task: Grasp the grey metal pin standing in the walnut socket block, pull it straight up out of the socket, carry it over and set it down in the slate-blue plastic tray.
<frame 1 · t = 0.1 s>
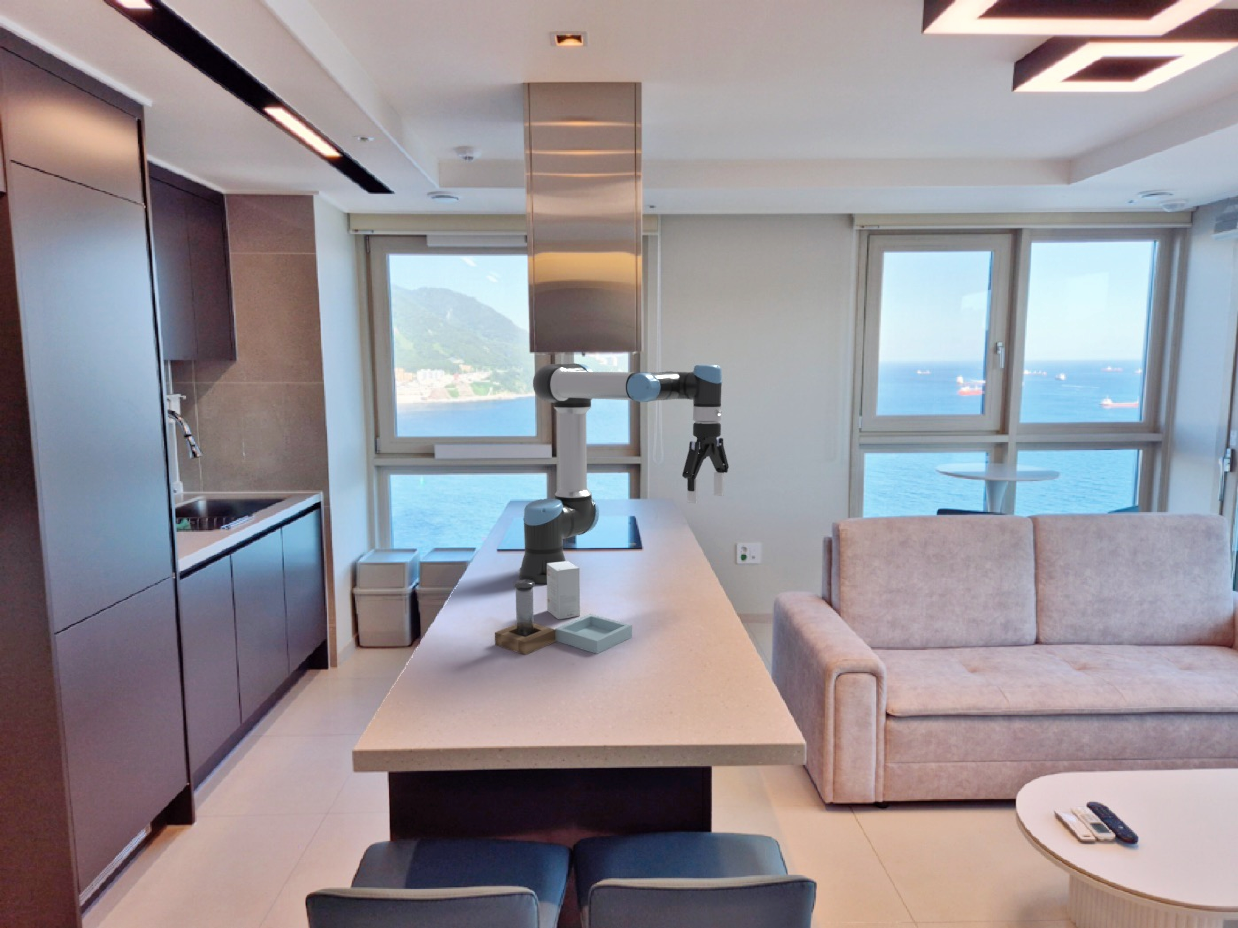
hand: (705, 499, 207), 28 cm above the table, fingers open, 13 cm apart
tray: (593, 638, 180), on the table
socket block: (525, 643, 178), on the table
pin: (524, 612, 177), in the socket block
small box: (563, 614, 198), on the table
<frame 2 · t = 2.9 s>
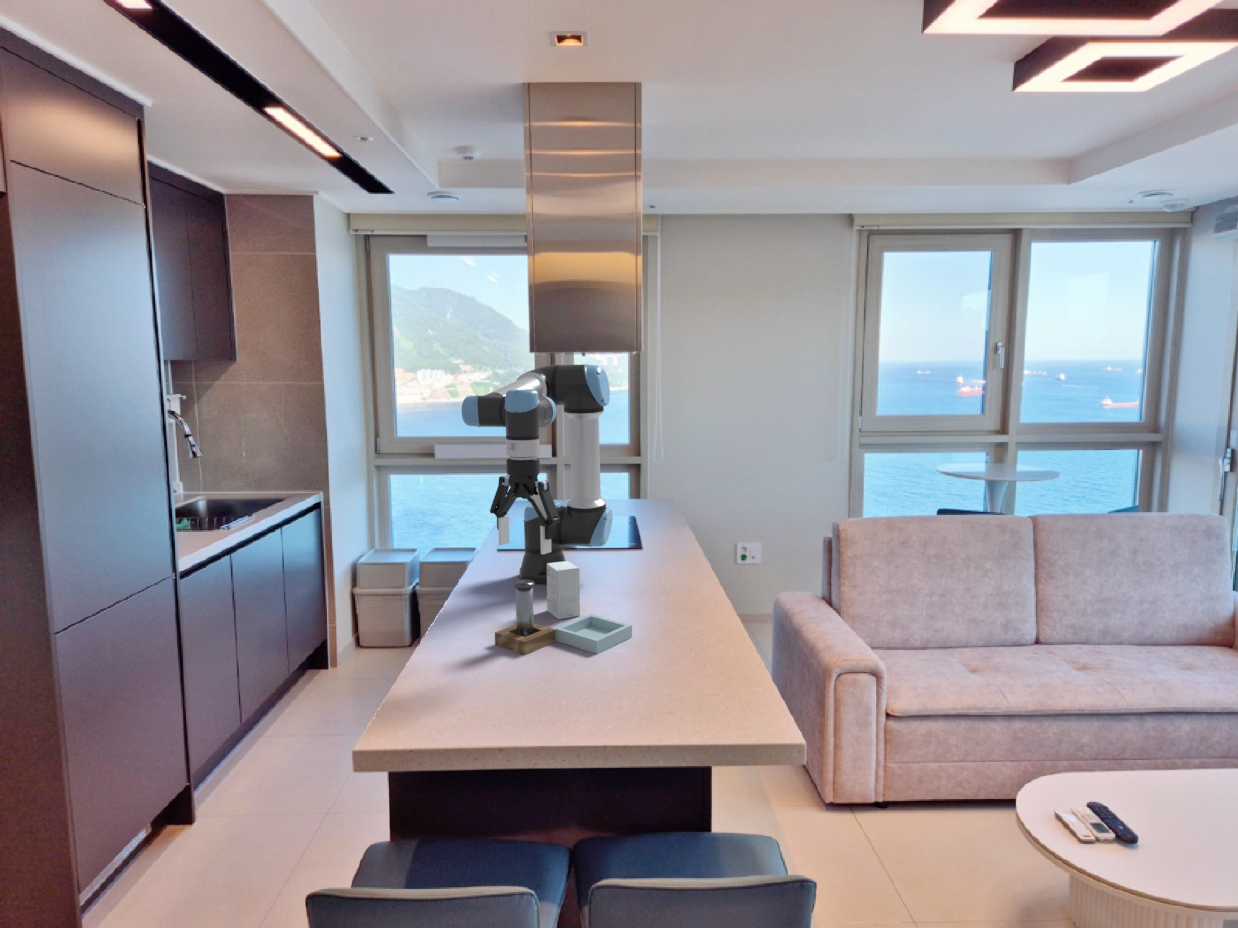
hand: (524, 548, 174), 23 cm above the table, fingers open, 13 cm apart
nothing on the table moved.
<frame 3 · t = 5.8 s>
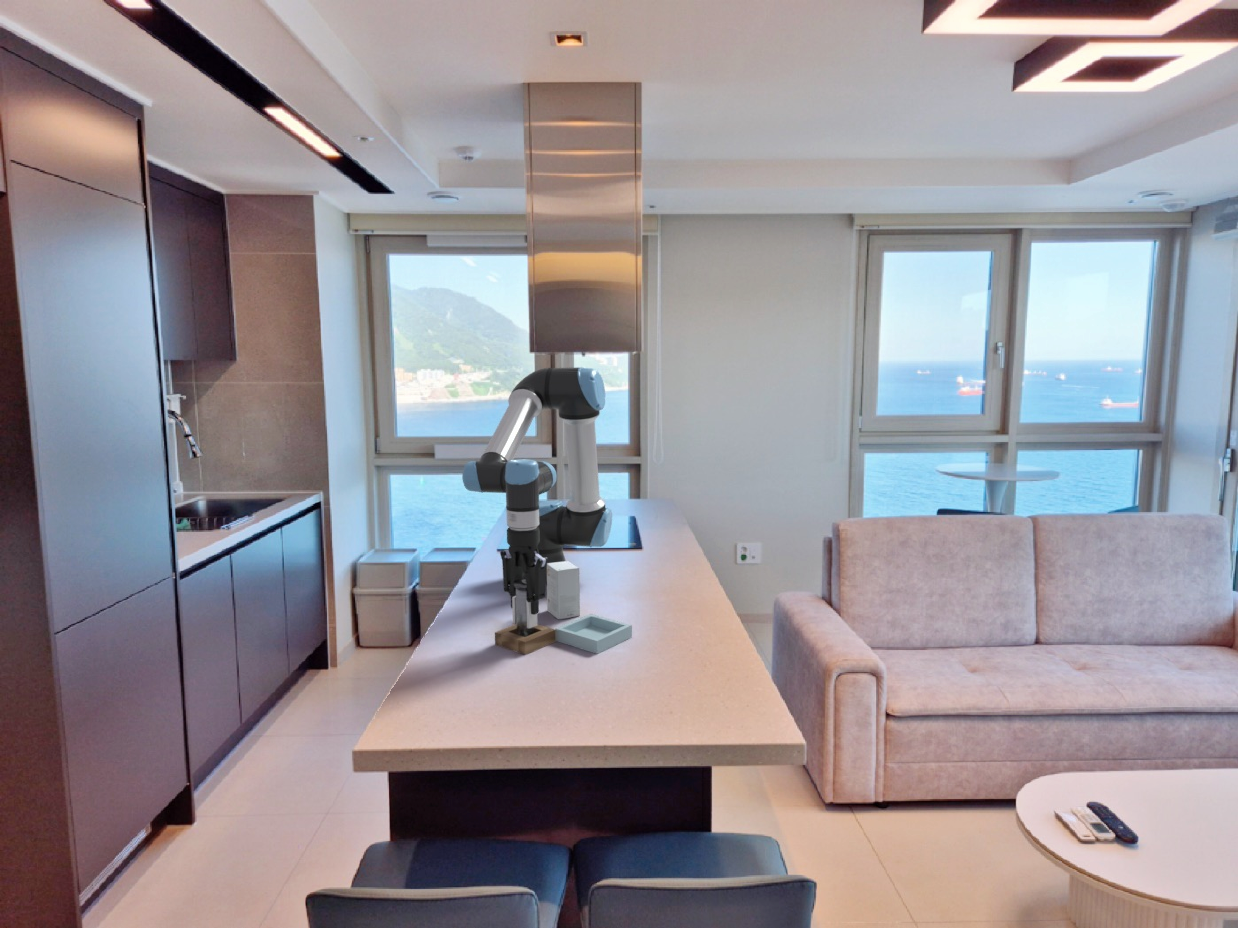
hand: (525, 624, 177), 5 cm above the table, fingers closed on pin, 4 cm apart
pin: (524, 612, 177), in the socket block, touching gripper
everything else where it was.
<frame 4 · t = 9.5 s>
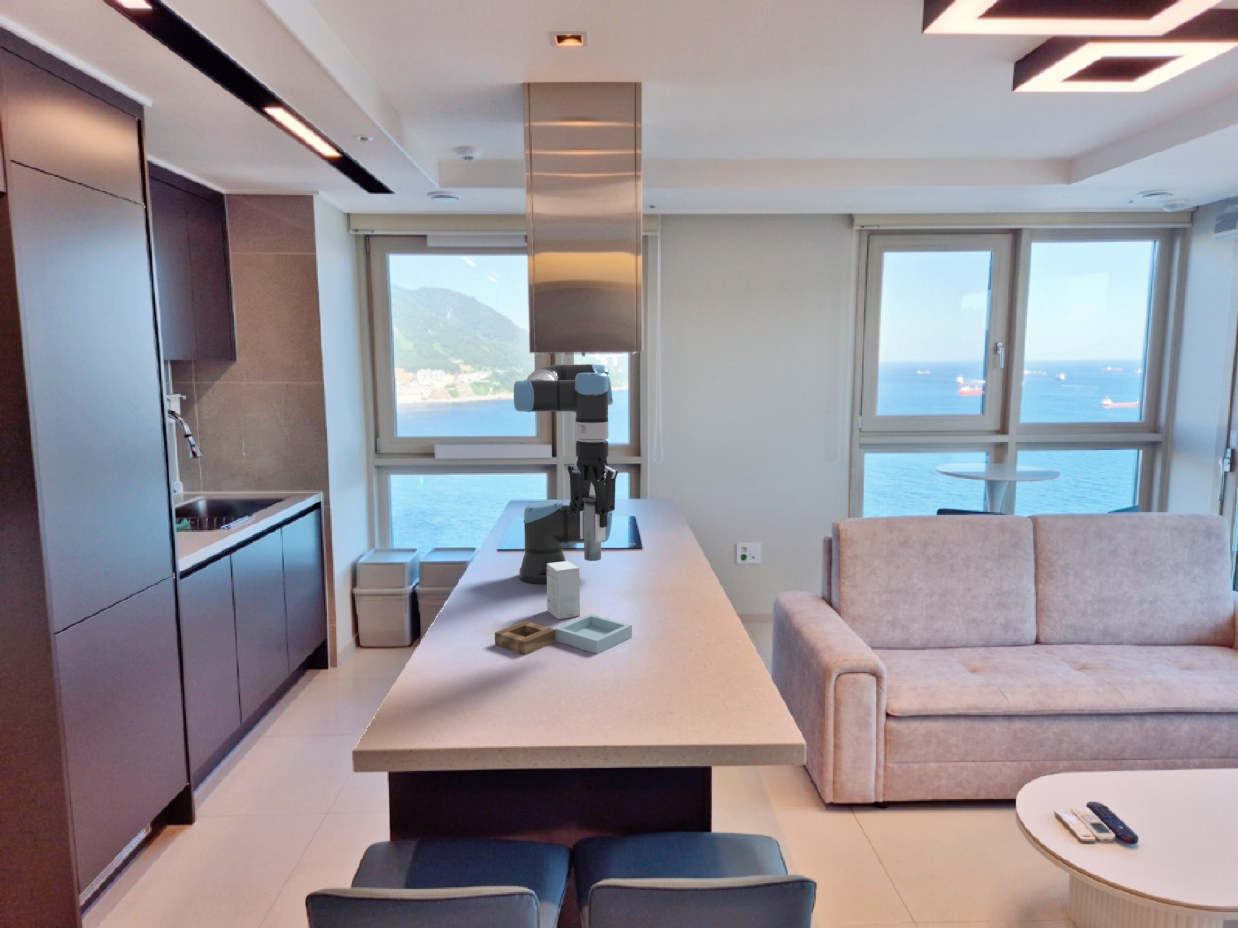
hand: (592, 538, 177), 24 cm above the table, fingers closed on pin, 4 cm apart
pin: (592, 527, 176), point 27 cm above the table, touching gripper
everything else where it was.
when the fingers open (6 cm above the table, at t = 13.5 s): pin stays where it is, resting on tray.
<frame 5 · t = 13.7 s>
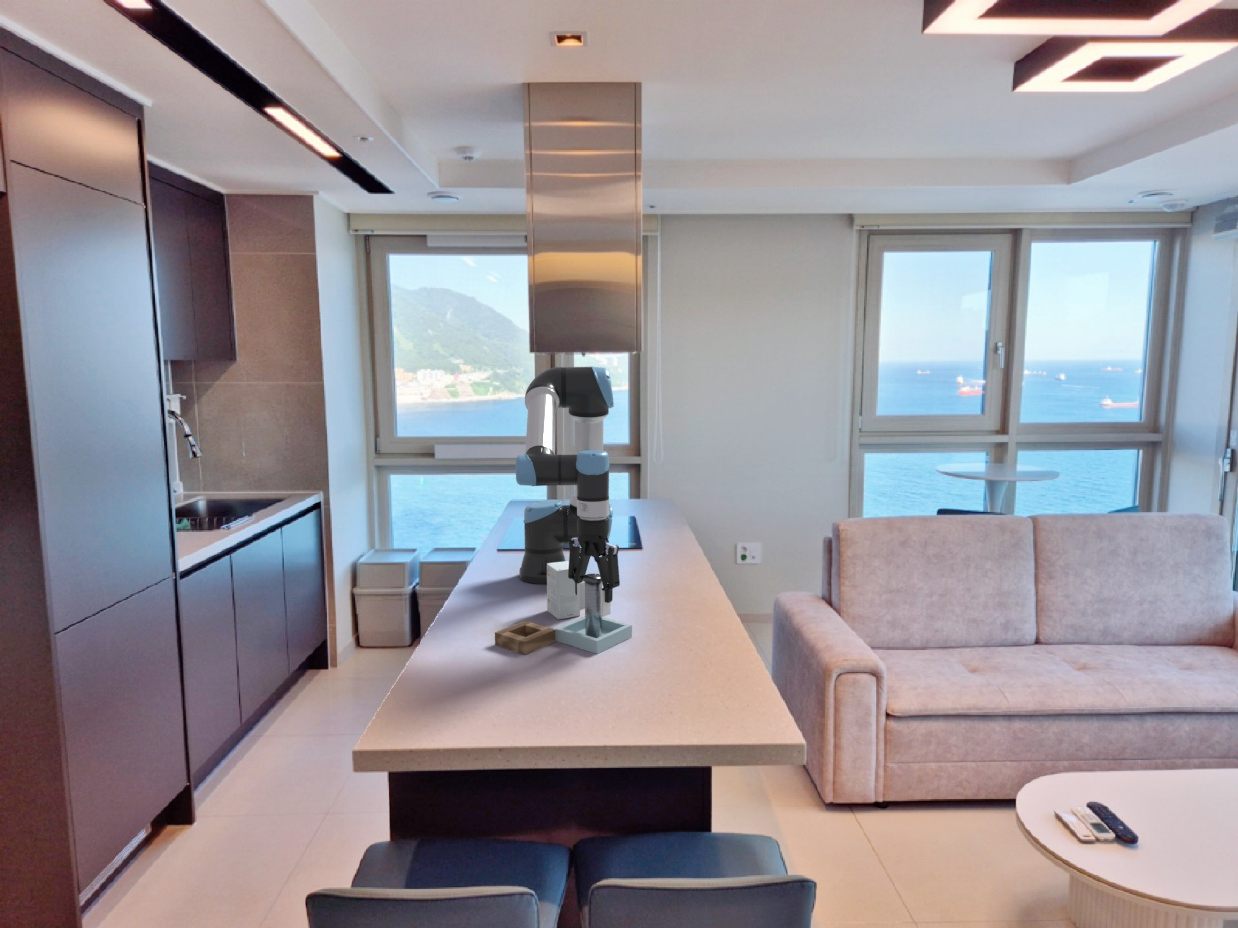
hand: (593, 611, 179), 7 cm above the table, fingers open, 7 cm apart
pin: (593, 606, 179), in the tray, point 8 cm above the table
everything else where it was.
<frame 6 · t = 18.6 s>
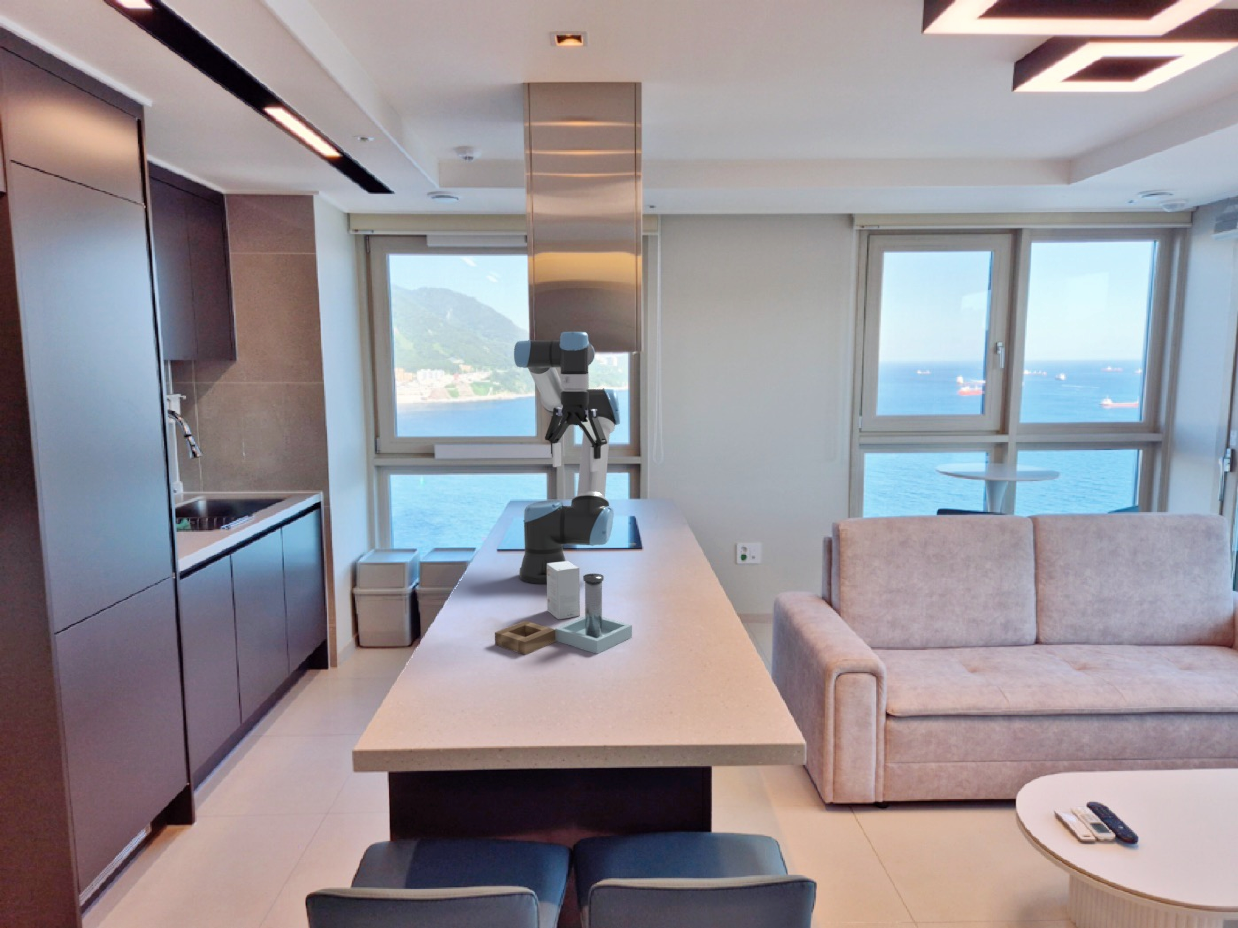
hand: (575, 468, 205), 37 cm above the table, fingers open, 13 cm apart
nothing on the table moved.
at the end: pin inside the target area on the tray (0.0 cm from its centre), point 8.0 cm above the tray's base; pin touching tray; the gripper is holding nothing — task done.
